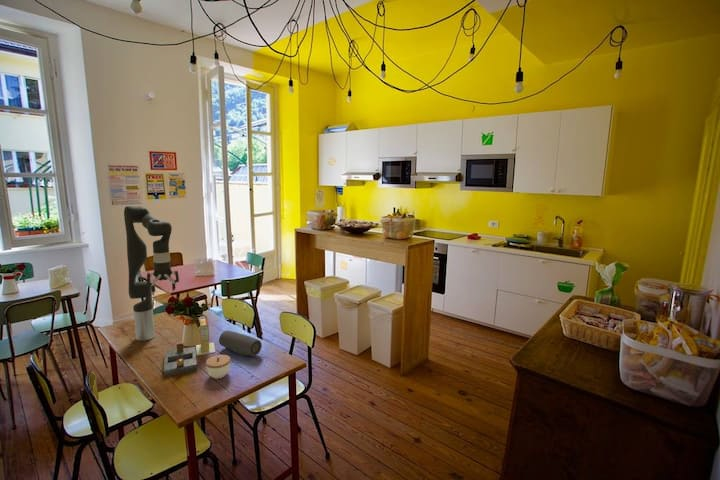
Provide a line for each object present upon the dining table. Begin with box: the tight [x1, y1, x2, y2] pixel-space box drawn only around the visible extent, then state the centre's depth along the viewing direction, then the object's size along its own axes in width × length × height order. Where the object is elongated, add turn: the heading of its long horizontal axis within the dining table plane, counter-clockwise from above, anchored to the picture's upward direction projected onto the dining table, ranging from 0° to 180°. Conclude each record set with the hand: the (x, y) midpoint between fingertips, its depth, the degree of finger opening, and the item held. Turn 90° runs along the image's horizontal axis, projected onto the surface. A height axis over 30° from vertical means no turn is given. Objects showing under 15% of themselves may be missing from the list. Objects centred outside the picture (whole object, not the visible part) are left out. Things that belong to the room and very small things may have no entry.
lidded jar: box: [205, 354, 231, 380], centre depth 164 cm, size 11×11×9 cm
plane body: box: [163, 341, 198, 377], centre depth 174 cm, size 20×14×7 cm
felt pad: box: [195, 342, 216, 357], centre depth 190 cm, size 12×9×1 cm
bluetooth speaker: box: [218, 330, 263, 357], centre depth 187 cm, size 23×9×10 cm, turn 63°
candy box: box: [199, 318, 210, 352], centre depth 188 cm, size 9×4×15 cm, turn 26°
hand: (164, 291), depth 181 cm, fingers open, 8 cm apart
